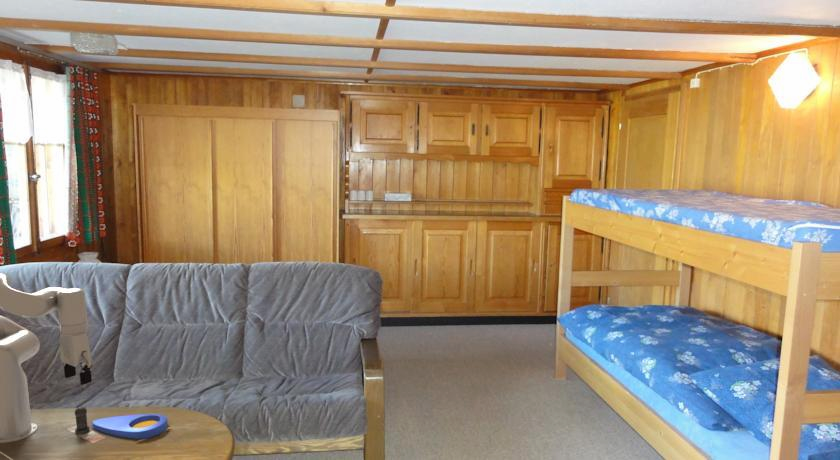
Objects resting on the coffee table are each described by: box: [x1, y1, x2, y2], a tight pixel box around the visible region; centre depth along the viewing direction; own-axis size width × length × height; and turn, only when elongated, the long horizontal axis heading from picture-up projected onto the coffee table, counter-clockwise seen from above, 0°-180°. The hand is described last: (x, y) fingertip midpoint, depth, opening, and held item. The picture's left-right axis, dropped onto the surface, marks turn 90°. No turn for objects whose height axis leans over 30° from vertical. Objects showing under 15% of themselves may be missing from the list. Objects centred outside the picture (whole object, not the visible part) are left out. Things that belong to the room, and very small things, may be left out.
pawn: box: [74, 406, 91, 436], centre depth 191 cm, size 4×4×8 cm
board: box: [66, 424, 107, 444], centre depth 190 cm, size 17×5×1 cm, turn 56°
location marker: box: [91, 413, 169, 440], centre depth 194 cm, size 13×3×25 cm
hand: (78, 379), depth 189 cm, fingers open, 9 cm apart
